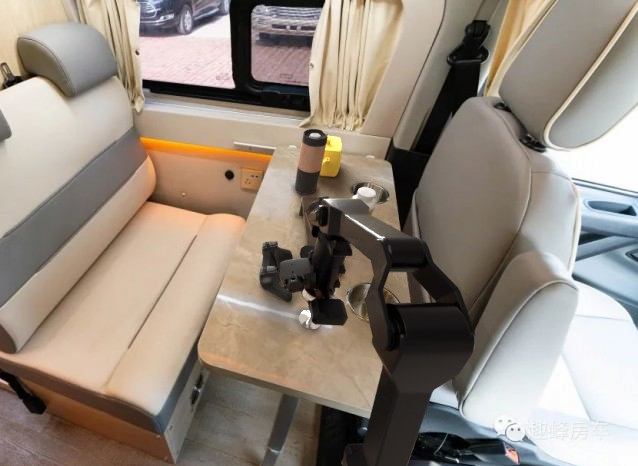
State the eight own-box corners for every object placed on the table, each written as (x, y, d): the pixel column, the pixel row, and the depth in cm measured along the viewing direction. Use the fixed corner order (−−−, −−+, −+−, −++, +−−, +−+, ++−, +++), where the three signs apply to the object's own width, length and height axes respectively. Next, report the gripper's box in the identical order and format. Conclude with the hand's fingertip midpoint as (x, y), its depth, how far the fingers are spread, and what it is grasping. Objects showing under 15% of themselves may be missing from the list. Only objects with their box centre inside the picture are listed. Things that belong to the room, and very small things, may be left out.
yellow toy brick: (339, 184, 116) (347, 154, 108) (303, 180, 118) (309, 150, 110) (337, 157, 130) (344, 128, 122) (305, 153, 132) (310, 125, 124)
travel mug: (292, 192, 112) (301, 137, 99) (295, 180, 117) (304, 127, 104) (315, 196, 110) (327, 141, 97) (317, 184, 116) (329, 130, 102)
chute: (341, 276, 84) (348, 257, 79) (310, 275, 84) (315, 256, 80) (324, 214, 103) (328, 196, 98) (298, 214, 103) (301, 196, 99)
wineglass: (320, 337, 71) (332, 304, 63) (290, 325, 74) (298, 291, 66) (328, 314, 76) (340, 280, 68) (300, 303, 78) (308, 269, 70)
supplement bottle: (340, 230, 97) (351, 194, 89) (345, 217, 102) (356, 182, 93) (363, 237, 95) (377, 201, 86) (367, 224, 99) (381, 188, 91)
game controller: (271, 260, 92) (256, 235, 86) (294, 255, 89) (280, 229, 84) (267, 309, 80) (250, 283, 75) (294, 304, 77) (278, 277, 72)
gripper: (281, 223, 68) (273, 272, 79) (290, 295, 54) (279, 344, 65) (335, 224, 68) (320, 274, 78) (358, 297, 54) (337, 346, 64)
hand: (313, 306), depth 71 cm, fingers closed on wineglass, 6 cm apart
